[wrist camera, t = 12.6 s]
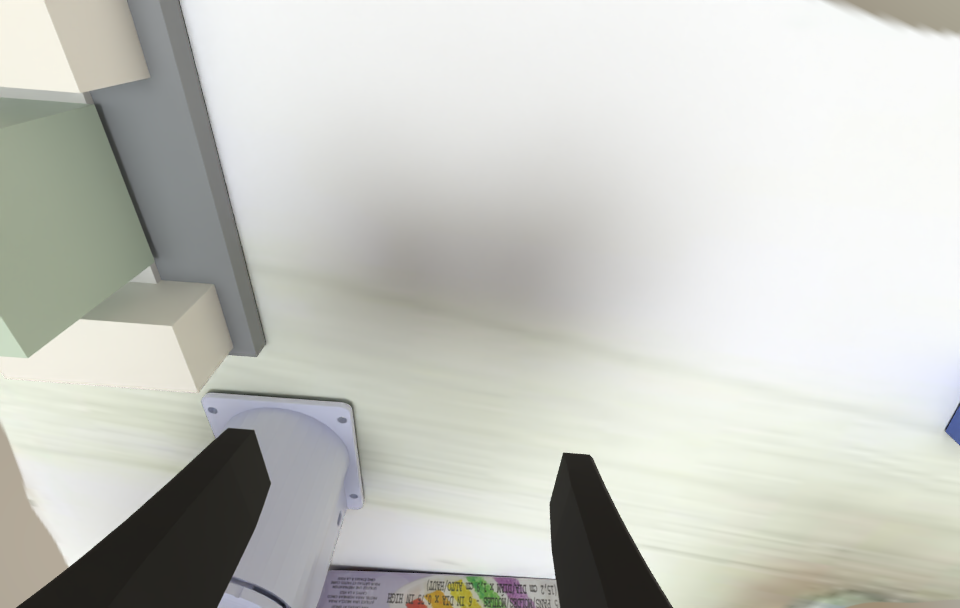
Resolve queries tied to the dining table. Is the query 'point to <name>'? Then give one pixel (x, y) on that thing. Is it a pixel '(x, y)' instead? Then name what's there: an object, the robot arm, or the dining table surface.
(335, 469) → the robot arm
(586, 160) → the dining table surface
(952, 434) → the walkman
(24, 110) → the module block
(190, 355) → the mounted modules
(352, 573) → the cake pan box
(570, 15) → the dining table surface
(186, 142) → the mounting board
